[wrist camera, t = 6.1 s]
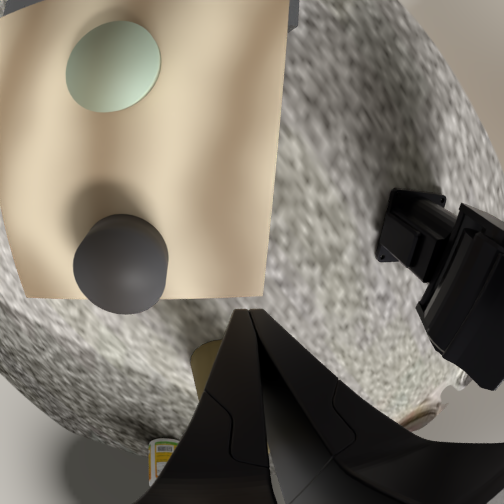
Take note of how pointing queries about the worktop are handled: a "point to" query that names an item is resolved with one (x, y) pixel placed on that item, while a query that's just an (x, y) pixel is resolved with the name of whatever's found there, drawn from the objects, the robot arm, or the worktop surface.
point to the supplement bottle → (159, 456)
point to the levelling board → (140, 147)
